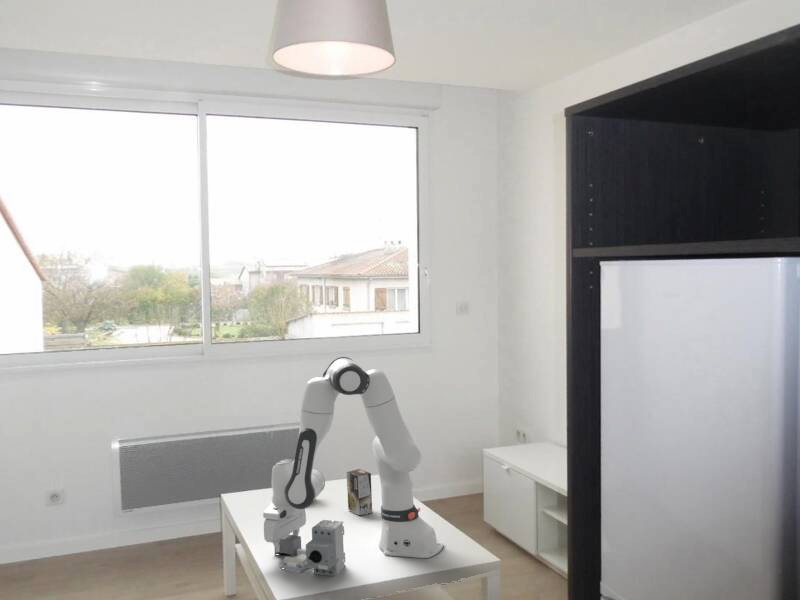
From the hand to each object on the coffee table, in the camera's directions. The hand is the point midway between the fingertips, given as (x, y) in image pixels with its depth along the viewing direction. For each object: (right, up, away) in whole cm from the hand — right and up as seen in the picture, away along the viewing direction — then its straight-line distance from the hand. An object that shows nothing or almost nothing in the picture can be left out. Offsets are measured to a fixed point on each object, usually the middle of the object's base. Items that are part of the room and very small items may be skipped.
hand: (286, 546), depth 253 cm
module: (0, -3, +1) cm, 3 cm away
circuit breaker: (+15, -4, -17) cm, 23 cm away
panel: (+7, -3, -7) cm, 10 cm away
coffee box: (+23, 0, +42) cm, 48 cm away
